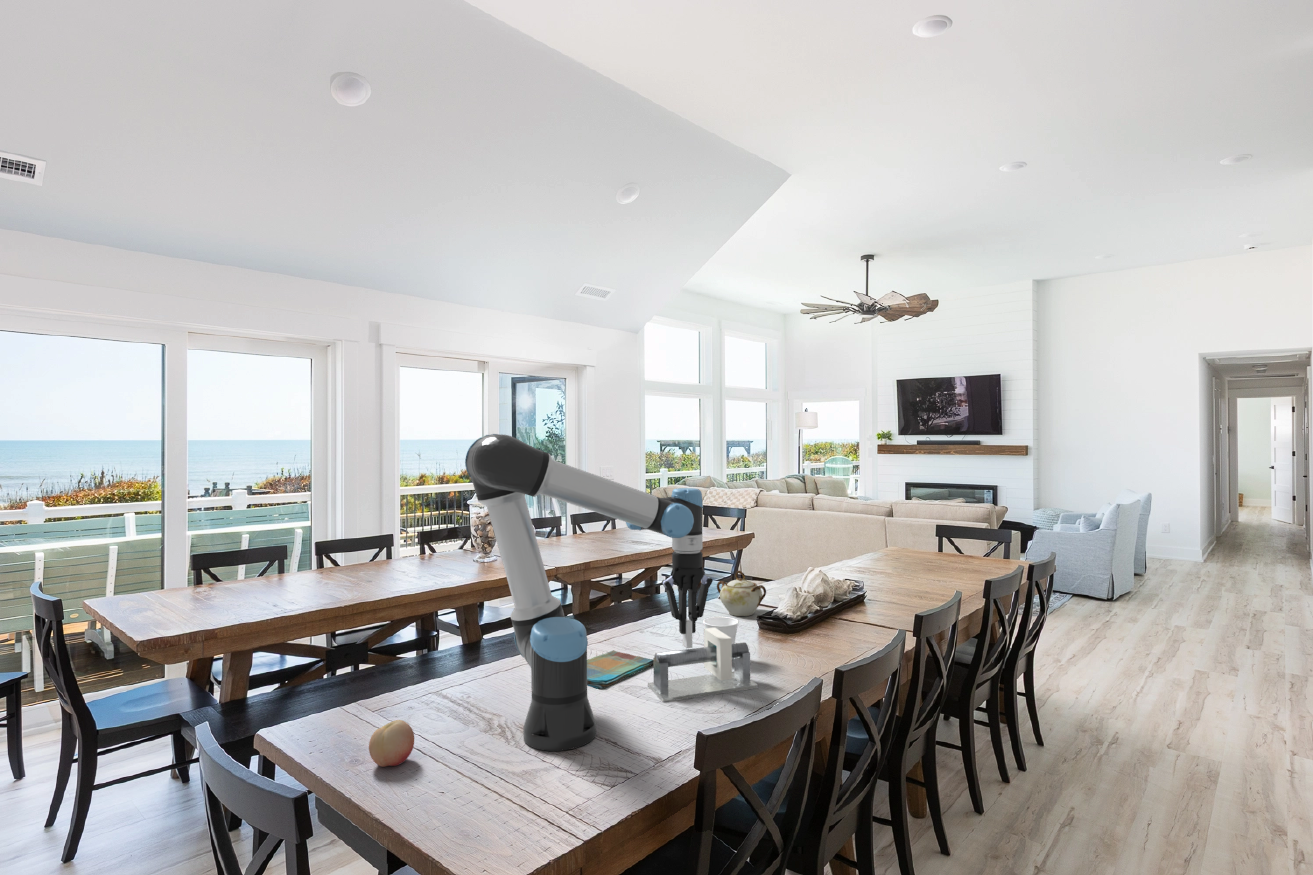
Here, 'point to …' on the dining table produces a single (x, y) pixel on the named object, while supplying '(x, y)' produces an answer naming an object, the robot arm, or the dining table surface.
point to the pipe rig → (700, 684)
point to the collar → (719, 653)
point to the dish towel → (613, 668)
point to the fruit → (391, 743)
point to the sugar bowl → (741, 596)
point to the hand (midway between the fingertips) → (687, 646)
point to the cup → (723, 625)
